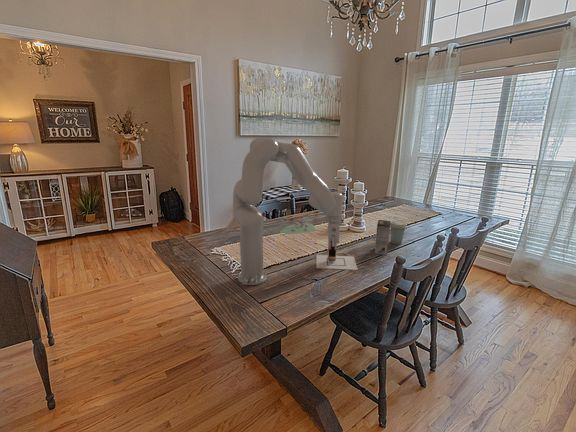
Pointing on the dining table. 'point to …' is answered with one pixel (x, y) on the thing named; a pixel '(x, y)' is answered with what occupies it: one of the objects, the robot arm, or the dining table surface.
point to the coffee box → (382, 237)
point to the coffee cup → (397, 232)
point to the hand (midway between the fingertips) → (331, 254)
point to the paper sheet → (336, 262)
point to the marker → (328, 253)
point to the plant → (299, 228)
